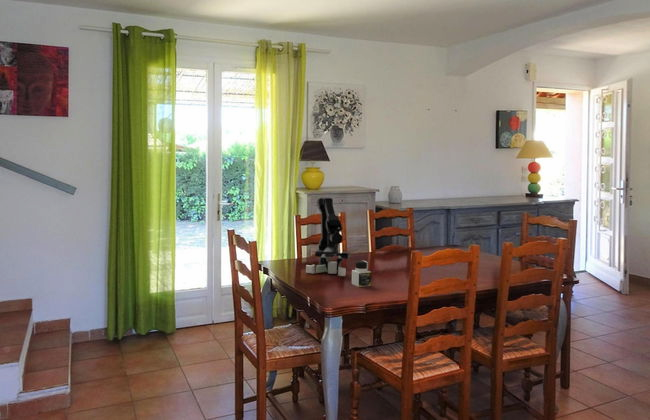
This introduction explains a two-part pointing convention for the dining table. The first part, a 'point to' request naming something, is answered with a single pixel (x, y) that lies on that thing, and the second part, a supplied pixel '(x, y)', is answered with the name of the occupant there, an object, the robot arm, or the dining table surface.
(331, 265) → the grey cube block
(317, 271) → the pale green curved bar
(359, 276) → the medicine bottle
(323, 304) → the dining table surface
